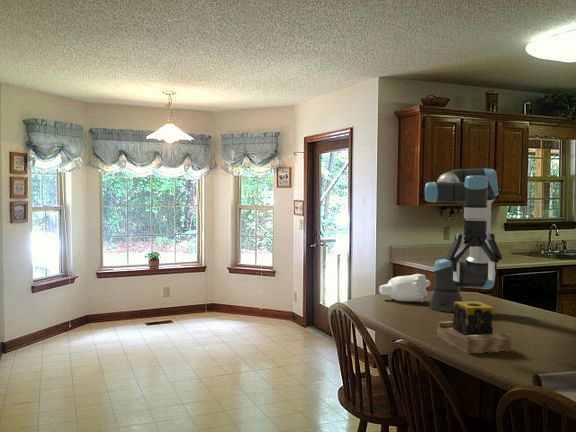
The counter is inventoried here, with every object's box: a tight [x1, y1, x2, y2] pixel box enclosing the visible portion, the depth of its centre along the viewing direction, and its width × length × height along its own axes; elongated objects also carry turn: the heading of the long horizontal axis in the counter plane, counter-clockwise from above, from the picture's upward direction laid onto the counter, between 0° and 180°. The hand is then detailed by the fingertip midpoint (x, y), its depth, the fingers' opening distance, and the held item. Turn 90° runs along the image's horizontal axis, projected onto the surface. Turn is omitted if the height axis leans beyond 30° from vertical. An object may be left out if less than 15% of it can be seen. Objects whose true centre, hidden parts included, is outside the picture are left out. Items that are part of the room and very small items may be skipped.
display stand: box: [436, 320, 512, 355], centre depth 174 cm, size 16×20×6 cm
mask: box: [378, 273, 431, 303], centre depth 247 cm, size 14×14×25 cm
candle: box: [452, 300, 494, 335], centre depth 174 cm, size 10×10×10 cm
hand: (473, 280), depth 173 cm, fingers open, 13 cm apart
